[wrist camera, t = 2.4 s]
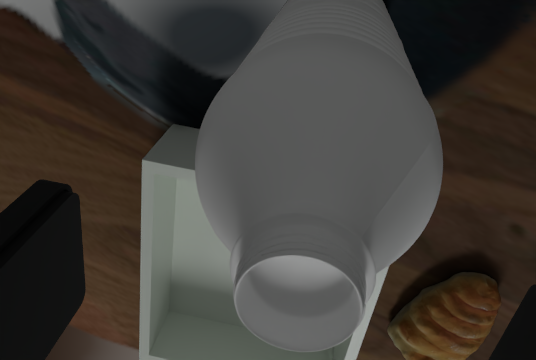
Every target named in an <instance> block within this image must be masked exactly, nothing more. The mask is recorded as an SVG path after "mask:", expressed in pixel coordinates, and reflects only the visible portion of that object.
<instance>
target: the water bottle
mask: <svg viewBox="0 0 536 360" xmlns="http://www.w3.org/2000/svg"><path fill="white" fill-rule="evenodd" d="M442 172H443V154H442V145H441V140H440V135H439V131H438V127H437V123H436V119H435V116H434V113H433V111H432V109H431V107H430V105H429V104H428V102H427V100H426V99H425V97H424V95H423V94H422V90H421V88H420V86H419V84H418V81H417V79H416V77H415V74H414V72H413V70H412V68H411V65H410V63H409V60H408V58H407V57H406V53H405V52H404V48H403V45H402V42H401V40H400V38H399V37H398V34H397V31H396V29H395V28H394V25H393V22H392V21H391V18H390V16H389V14H388V11H387V9H386V7H385V4H384V2H383V0H288V1H287V2H286V4H285V5H284V6H283V7H282V9H281V10H280V11H279V13H278V14H277V15H276V17H275V18H274V19H273V21H272V22H271V23H270V25H269V26H268V27H267V29H266V30H265V31H264V33H263V34H262V36H261V37H260V39H259V40H258V42H257V43H256V44H255V46H254V47H253V49H252V50H251V51H250V53H249V54H248V55H247V57H246V58H245V59H244V61H243V62H242V63H241V65H240V66H239V67H238V69H237V70H236V71H235V72H234V73H233V74H232V76H231V77H230V78H229V79H228V80H227V81H226V82H225V84H224V85H223V86H222V88H221V89H220V90H219V92H218V93H217V95H216V96H215V98H214V99H213V101H212V103H211V104H210V106H209V108H208V110H207V112H206V114H205V117H204V119H203V122H202V125H201V128H200V131H199V135H198V139H197V145H196V153H195V176H196V184H197V190H198V194H199V198H200V202H201V205H202V207H203V210H204V212H205V215H206V217H207V219H208V221H209V223H210V225H211V226H212V228H213V230H214V232H215V234H216V235H217V237H218V238H219V239H220V240H221V242H222V243H223V244H224V245H225V246H226V248H227V249H228V250H229V251H230V252H231V256H230V274H231V278H232V281H233V284H234V285H233V298H234V305H235V309H236V312H237V314H238V316H239V318H240V320H241V321H242V323H243V324H244V325H245V326H246V328H247V329H248V330H249V331H250V332H251V333H253V334H254V335H255V336H256V337H258V338H259V339H261V340H263V341H264V342H266V343H268V344H270V345H273V346H275V347H278V348H281V349H285V350H290V351H297V352H314V351H321V350H325V349H328V348H331V347H334V346H336V345H338V344H340V343H342V342H343V341H345V340H346V339H348V338H349V337H350V336H351V335H352V334H353V333H354V332H355V330H356V329H357V327H358V326H359V325H360V323H361V321H362V319H363V317H364V314H365V309H366V303H367V302H368V300H369V299H370V297H371V295H372V293H373V291H374V288H375V283H376V274H377V273H378V272H380V271H381V270H383V269H384V268H386V267H387V266H389V265H390V264H391V263H393V262H394V261H395V260H397V259H398V258H399V257H400V256H401V255H403V254H404V253H405V252H406V251H407V250H408V249H409V248H410V247H411V246H412V245H413V243H414V242H415V241H416V240H417V239H418V237H419V236H420V235H421V233H422V232H423V230H424V228H425V227H426V225H427V223H428V221H429V219H430V217H431V215H432V213H433V211H434V208H435V205H436V202H437V199H438V196H439V192H440V187H441V181H442Z"/></svg>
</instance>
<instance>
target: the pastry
mask: <svg viewBox="0 0 536 360" xmlns="http://www.w3.org/2000/svg"><path fill="white" fill-rule="evenodd" d="M497 286H498V285H497V283H496V281H495V280H494V279H492V278H490V277H489V276H487V275H484V274H481V273H474V272H461V273H458V274H455V275H453V276H452V277H451V278H449V279H448V280H446V281H443V282H440V283H438V284H436V285H433V286H429V287H426V288H424V289H422V290H421V292H420V294H419V295H418V296H416V297H415V298H414V299H413V300H412V301H411V302H409V303H408V304H407V305H405V306H404V307H403V308H402V309H401V310H400V312H399V313H397V315H396V316H395V318H394V319H393V320H392V321H391V323H390V324H389V326H388V334H389V336H390V337H391V338H392V340H393V341H394V344H395V345H396V347H397V348H398V349H400V351H401V352H402V354H403V356H404V357H405V359H406V360H464V359H466V358H467V357H468V356H469V355H470V354H472V353H473V352H475V351H476V350H477V349H478V348H479V346H480V344H482V343H483V341H484V339H485V338H486V336H487V335H488V334H489V332H490V329H491V327H492V325H493V324H494V319H495V316H496V315H497V313H498V309H499V307H500V306H501V297H500V294H499V292H498V289H497Z"/></svg>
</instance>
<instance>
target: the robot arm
mask: <svg viewBox="0 0 536 360" xmlns="http://www.w3.org/2000/svg"><path fill="white" fill-rule="evenodd" d="M84 296H85V274H84V259H83V245H82V230H81V215H80V200H79V196H78V194H76V193H73V192H72V189H71V187H70V186H69V185H68V184H63V183H58V182H53V181H48V180H38V181H37V182H35V183H34V184H33V185H32V186H31V187H30V188H29V189H27V190H26V191H25V192H24V193H23V194H22V195H21V196H19V197H18V198H17V199H16V200H15V201H14V202H13V203H11V204H10V205H9V206H8V207H7V208H6V209H5V210H3V211H2V212H1V213H0V360H45V358H46V357H47V356H48V354H49V353H50V351H51V349H52V348H53V346H54V345H55V343H56V342H57V340H58V339H59V337H60V336H61V334H62V333H63V331H64V330H65V328H66V327H67V325H68V324H69V322H70V321H71V319H72V318H73V316H74V315H75V313H76V312H77V310H78V309H79V307H80V306H81V304H82V302H83V299H84ZM489 360H536V285H533V286H531V287H530V288H529V290H528V292H527V293H526V295H525V297H524V299H523V300H522V302H521V304H520V306H519V307H518V309H517V311H516V313H515V314H514V316H513V318H512V320H511V321H510V323H509V325H508V327H507V328H506V330H505V332H504V334H503V335H502V337H501V339H500V341H499V342H498V344H497V346H496V348H495V349H494V351H493V353H492V355H491V356H490V358H489Z"/></svg>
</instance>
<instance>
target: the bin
mask: <svg viewBox="0 0 536 360" xmlns="http://www.w3.org/2000/svg"><path fill="white" fill-rule="evenodd" d="M199 131H200V129H197V128H191V127H186V126H181V125H176V124H173V125H172V126H171V127H170V128H169V129H168V130H167V132H166V133H165V134H164V135H163V136H162V137H161V138H160V140H159V141H158V142H157V143H156V144H155V145H154V147H153V148H152V149H151V150H150V151H149V152H148V154H147V155H146V156H145V157H144V158H143V159H142V204H141V273H140V342H139V360H356V358H357V355H358V352H359V349H360V347H361V344H362V341H363V338H364V335H365V333H366V330H367V327H368V324H369V321H370V318H371V316H372V313H373V310H374V307H375V304H376V301H377V299H378V296H379V293H380V290H381V287H382V285H383V282H384V279H385V276H386V273H387V270H388V268H389V266H387V267H386V268H384V269H383V270H381V271H380V272H378V273H377V274H376V283H375V288H374V291H373V293H372V295H371V297H370V299H369V300H368V302H367V303H366V309H365V314H364V317H363V319H362V321H361V323H360V325H359V326H358V327H357V329H356V330H355V332H354V333H353V334H352V335H351V336H350V337H349V338H348V339H346V340H345V341H343V342H342V343H340V344H338V345H336V346H334V347H331V348H328V349H325V350H321V351H314V352H297V351H290V350H285V349H281V348H278V347H275V346H273V345H270V344H268V343H266V342H264V341H263V340H261V339H259V338H258V337H256V336H255V335H254V334H253V333H251V332H250V331H249V330H248V329H247V328H246V326H245V325H244V324H243V323H242V321H241V320H240V318H239V316H238V314H237V312H236V309H235V305H234V298H233V285H234V284H233V281H232V278H231V274H230V256H231V252H230V251H229V250H228V249H227V248H226V246H225V245H224V244H223V243H222V242H221V240H220V239H219V238H218V237H217V235H216V234H215V232H214V230H213V228H212V226H211V225H210V223H209V221H208V219H207V217H206V215H205V212H204V210H203V207H202V205H201V202H200V198H199V194H198V190H197V184H196V176H195V153H196V145H197V139H198V135H199Z"/></svg>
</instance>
